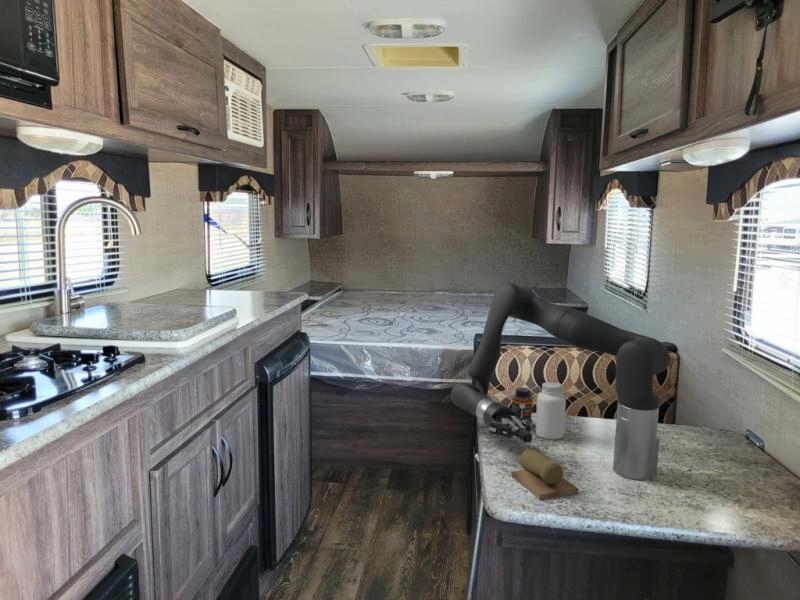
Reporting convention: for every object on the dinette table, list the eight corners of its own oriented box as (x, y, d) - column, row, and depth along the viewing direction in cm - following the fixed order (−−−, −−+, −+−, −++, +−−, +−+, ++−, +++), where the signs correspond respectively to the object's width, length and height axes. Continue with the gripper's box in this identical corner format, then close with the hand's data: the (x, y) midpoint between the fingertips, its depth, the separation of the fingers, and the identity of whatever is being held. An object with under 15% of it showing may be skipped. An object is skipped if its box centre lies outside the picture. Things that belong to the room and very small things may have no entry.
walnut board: (547, 471, 140) (548, 466, 140) (577, 493, 129) (578, 488, 129) (511, 476, 137) (511, 471, 137) (539, 499, 126) (539, 494, 126)
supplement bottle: (525, 430, 167) (527, 393, 165) (507, 426, 170) (509, 389, 169) (534, 425, 172) (536, 388, 170) (516, 420, 175) (518, 385, 174)
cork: (525, 444, 138) (548, 459, 128) (545, 450, 140) (571, 466, 130) (517, 468, 138) (540, 485, 128) (538, 474, 140) (562, 491, 129)
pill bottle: (531, 430, 167) (533, 380, 165) (557, 429, 168) (560, 380, 166) (540, 440, 159) (543, 388, 157) (568, 440, 160) (571, 388, 158)
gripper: (473, 403, 152) (505, 426, 136) (517, 399, 156) (553, 421, 140) (472, 430, 153) (504, 456, 137) (515, 425, 157) (551, 450, 141)
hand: (529, 438), depth 138 cm, fingers closed
